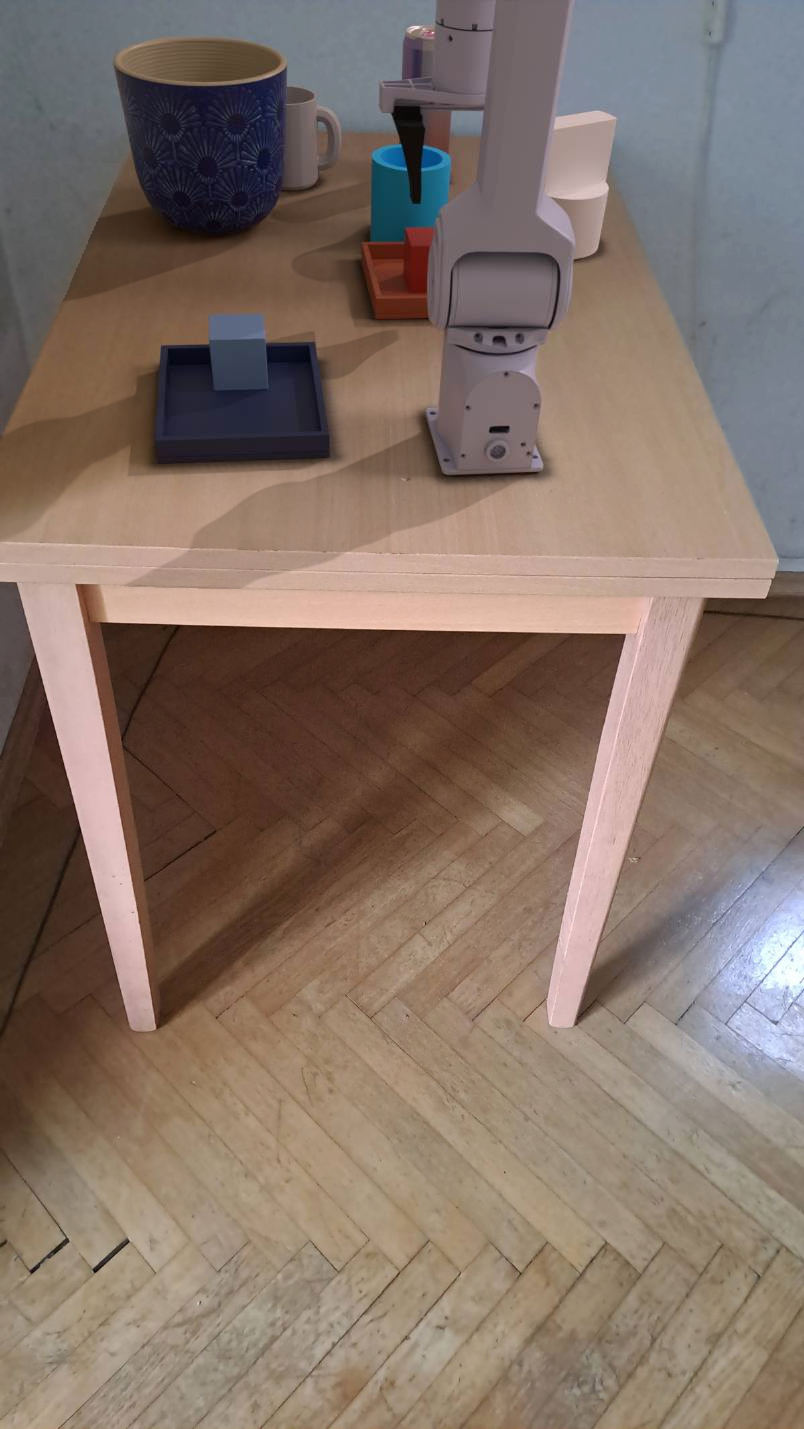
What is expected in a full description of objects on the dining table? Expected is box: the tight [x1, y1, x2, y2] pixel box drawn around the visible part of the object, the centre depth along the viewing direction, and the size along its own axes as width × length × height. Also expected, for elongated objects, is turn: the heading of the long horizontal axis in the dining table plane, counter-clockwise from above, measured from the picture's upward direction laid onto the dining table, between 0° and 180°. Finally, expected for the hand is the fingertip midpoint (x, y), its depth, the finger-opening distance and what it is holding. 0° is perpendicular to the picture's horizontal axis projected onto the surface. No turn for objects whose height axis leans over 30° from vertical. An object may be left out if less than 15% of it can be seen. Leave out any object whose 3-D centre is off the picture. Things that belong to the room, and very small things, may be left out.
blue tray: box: [153, 341, 331, 464], centre depth 81 cm, size 15×13×2 cm
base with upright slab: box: [544, 109, 618, 260], centre depth 104 cm, size 9×9×12 cm
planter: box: [112, 35, 288, 236], centre depth 103 cm, size 17×17×15 cm
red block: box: [403, 227, 434, 293], centre depth 97 cm, size 4×4×4 cm
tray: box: [360, 241, 429, 320], centre depth 98 cm, size 13×12×2 cm
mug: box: [369, 143, 452, 242], centre depth 106 cm, size 12×8×8 cm
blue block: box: [208, 313, 268, 391], centre depth 83 cm, size 4×4×4 cm
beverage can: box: [398, 24, 453, 156], centre depth 115 cm, size 6×6×15 cm
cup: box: [281, 85, 343, 191], centre depth 115 cm, size 7×10×9 cm
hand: (456, 199), depth 91 cm, fingers open, 7 cm apart
